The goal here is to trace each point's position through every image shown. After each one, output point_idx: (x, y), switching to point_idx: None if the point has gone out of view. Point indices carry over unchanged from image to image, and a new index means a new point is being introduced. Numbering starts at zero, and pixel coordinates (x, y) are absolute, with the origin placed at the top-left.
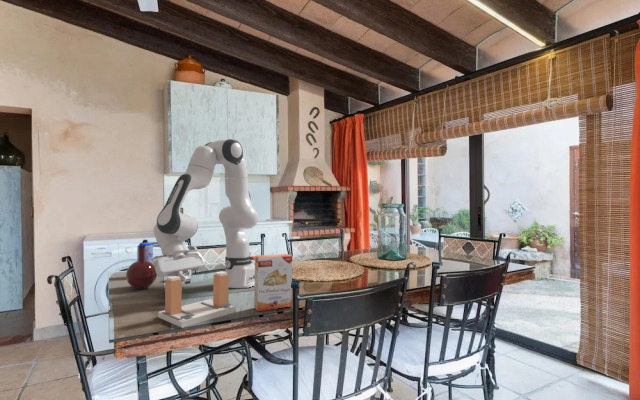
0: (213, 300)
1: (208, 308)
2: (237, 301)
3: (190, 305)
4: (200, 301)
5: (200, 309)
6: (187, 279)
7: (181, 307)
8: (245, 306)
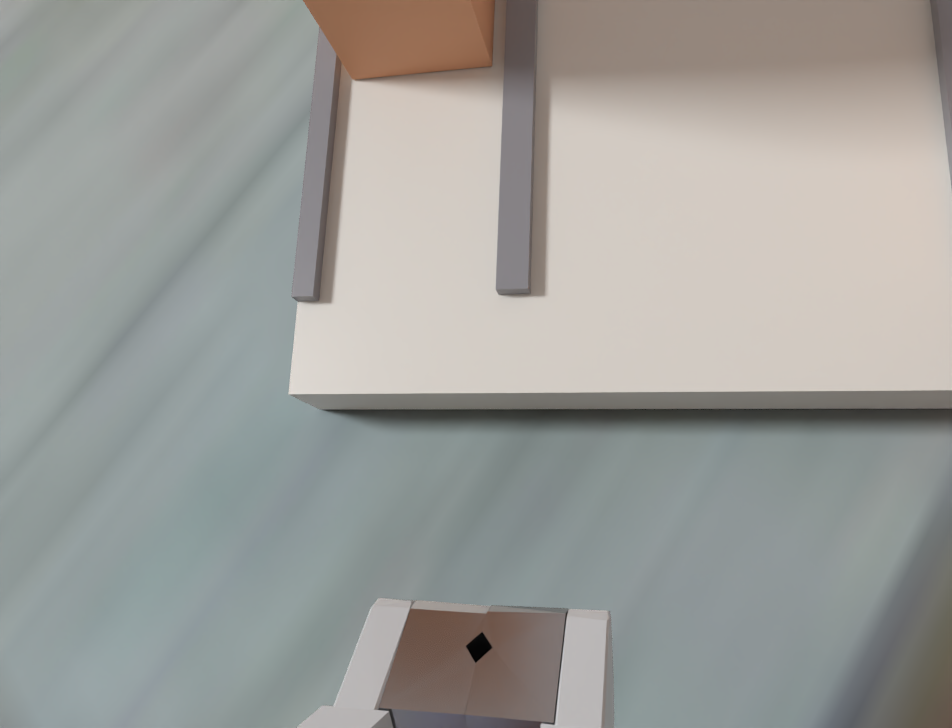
0: (475, 9)
1: (599, 20)
2: (67, 243)
3: (700, 316)
4: (470, 389)
5: (703, 49)
6: (533, 607)
7: (866, 324)
8: (161, 25)
